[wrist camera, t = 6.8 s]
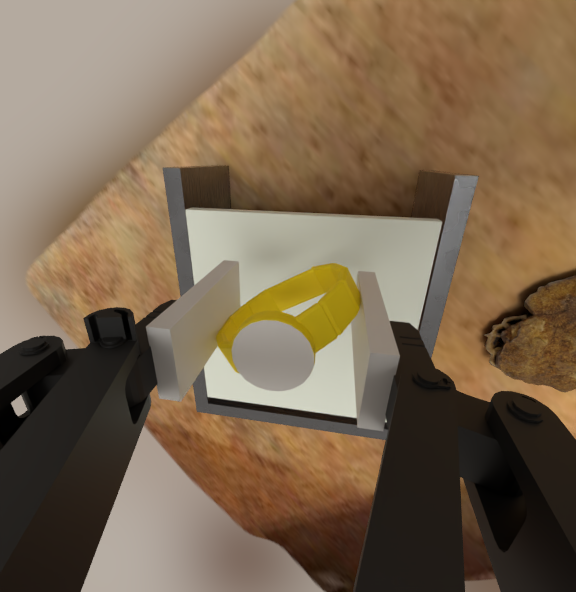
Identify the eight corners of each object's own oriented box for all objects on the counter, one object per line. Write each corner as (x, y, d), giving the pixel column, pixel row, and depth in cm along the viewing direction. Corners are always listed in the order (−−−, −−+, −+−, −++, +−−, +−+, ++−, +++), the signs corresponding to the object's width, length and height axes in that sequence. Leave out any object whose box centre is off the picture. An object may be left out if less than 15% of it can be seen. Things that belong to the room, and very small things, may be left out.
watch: (336, 237, 14) (344, 279, 8) (361, 288, 15) (383, 356, 9) (230, 291, 16) (178, 355, 10) (257, 334, 16) (223, 416, 11)
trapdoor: (437, 218, 19) (442, 221, 18) (394, 414, 25) (396, 423, 24) (192, 207, 21) (185, 209, 20) (212, 389, 27) (207, 396, 27)
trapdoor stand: (435, 170, 25) (478, 176, 17) (393, 375, 34) (408, 443, 25) (215, 165, 28) (162, 167, 20) (229, 355, 36) (196, 411, 28)
